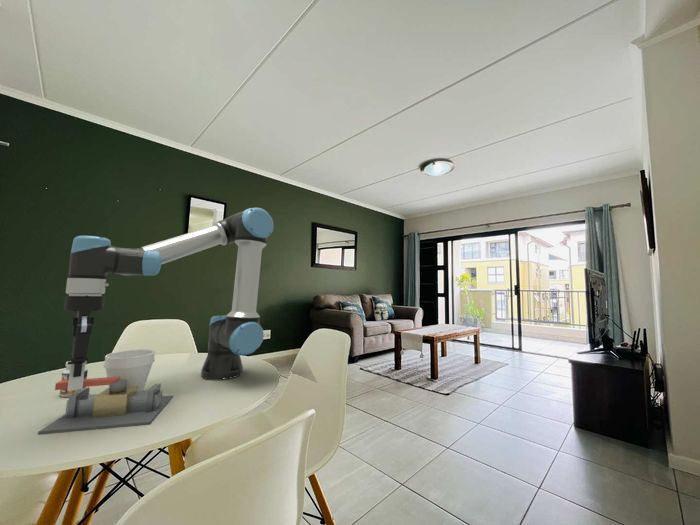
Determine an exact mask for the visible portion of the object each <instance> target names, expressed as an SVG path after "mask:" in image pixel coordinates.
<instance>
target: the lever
mask: <svg viewBox="0 0 700 525" xmlns="http://www.w3.org/2000/svg"><path fill="white" fill-rule="evenodd" d="M68 381H69V380H59V381H58V382H56V383H55V386H54V391H60V390H63V389H68ZM127 381H128V380H127V379H120V376H119V377H107V376H106V377H95V378H94V377H93V378H87V379H86V378H85V379H84V380H83V387H86V388H87V387H90V388H91V387H101V386H109V385H110V392H120V391H124V390H126V389H127Z"/></svg>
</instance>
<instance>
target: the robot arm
mask: <svg viewBox="0 0 700 525" xmlns="http://www.w3.org/2000/svg"><path fill="white" fill-rule="evenodd" d="M274 227H275V226H274V220H273V218H272V216H271V215H270V213H269V212H268V211H266V210H265V209H264V208H261V207H249V208H247V209H245V210H243V211H239V212H237V213H234V214H232V215H230V216H228V217H226V218H224V219H221V220H219V221H216V222H215V221H214V222H213V223H212V225H211V226H207V227H204V228H200V229H197V230H194V231H191V232H187V233H184V234H181V235H178V236H174V237H170V238H168V239H165V240H161V241H158V242H155V243H151V244H148V245H147V244H146V245H144V246H142V247H138V248H129V247H128V248H127V247H126V248H125V247H119V246H113V245H112V242H111V240H110V239H108V238H107V237H101V236H95V235H78V236H75V237H74V238H73V241H72V245H71V251H70V254H69V256H70V257H69V263H68V264H69V265H68V276H67V279H66V280H67V281H66V286H65V294H67V296H66V297H64V298H65V299H64V304H63V305H64V306H63V310H64V311H66V312H77V313H76V317H72V319H71V320H72V321H71V324H72V329H71V335H72V336H73V338H72V348H71V355H70V361H69V362H68V361H67V362H68V364H67V365H69V364H70V372H69V381H68V389H67V391H73V390H78V389H83V380H84V371H85V367H86V365H85V361H87V362H88V361H89V360H90V358H89V357H87V356H88V351H89V350H88V349H89V343H90V336H91V334H92V329H93V328H92V327H93V324H94V321H95V317H93V316H91V313H92V312H93V311H94V312H95V311H102V310H103V309H104V306H105V297H104V296H103V295H104V294H105V293H106V287H109V286H110V284H109V283H108V282H107V278H108V274H113V275H120V276H124V277H130V276H144V277H145V276H156V275H158V274H159V273H160V270H161V267H162V265H164V264H167V263H170V262H172V261H176V260H179V259H181V258H183V257H187V256H190V255H193V254H195V253H199V252H202V251H203V250H207V249H211V248H213V247H216V246H219V245H221V246H226V245H227V246H228V245H229V244H234V243H235V245H237V255H236V256H237V258H236V268H235V275H234V285H233V293H232V304H231V311H229V312H228V314H226V315H213V316H212V317H211V318H210V320H209V321H210V322H209V330H208V343H207V344H208V345H207V355H206V358H205V360H204V363H203V365H202V367H201V370H200V371H201V372H200V378H202V377H203V378H202V379H204V378H206V379H205V380H209V379H222V380H224V379H223V378H229V379H231V378H230V377H234V376H237V375H239V376H241V375H242V374H243V373H242V372H244V366H243V361H242V358H241V356H244V355H246V356H247V355H250V354H253V353H254V352H256V351H257V349H259V348H260V346H261V345H262V344H263V342H264V336H265V332H264V328H263V327H262V326H261V324H260V320H261V319H260V318H261V316H260V315H259V313H258V312H257V305H258V294H259V287H260V286H259V283H260V274H261V265H262V264H261V263H262V252H263V249H264V248H265V247H266V246H267V244H268V237H270V235H272V234H273V232H274ZM241 373H242V374H241ZM240 374H241V375H240ZM237 377H238V376H237ZM234 378H235V377H234Z"/></svg>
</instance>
